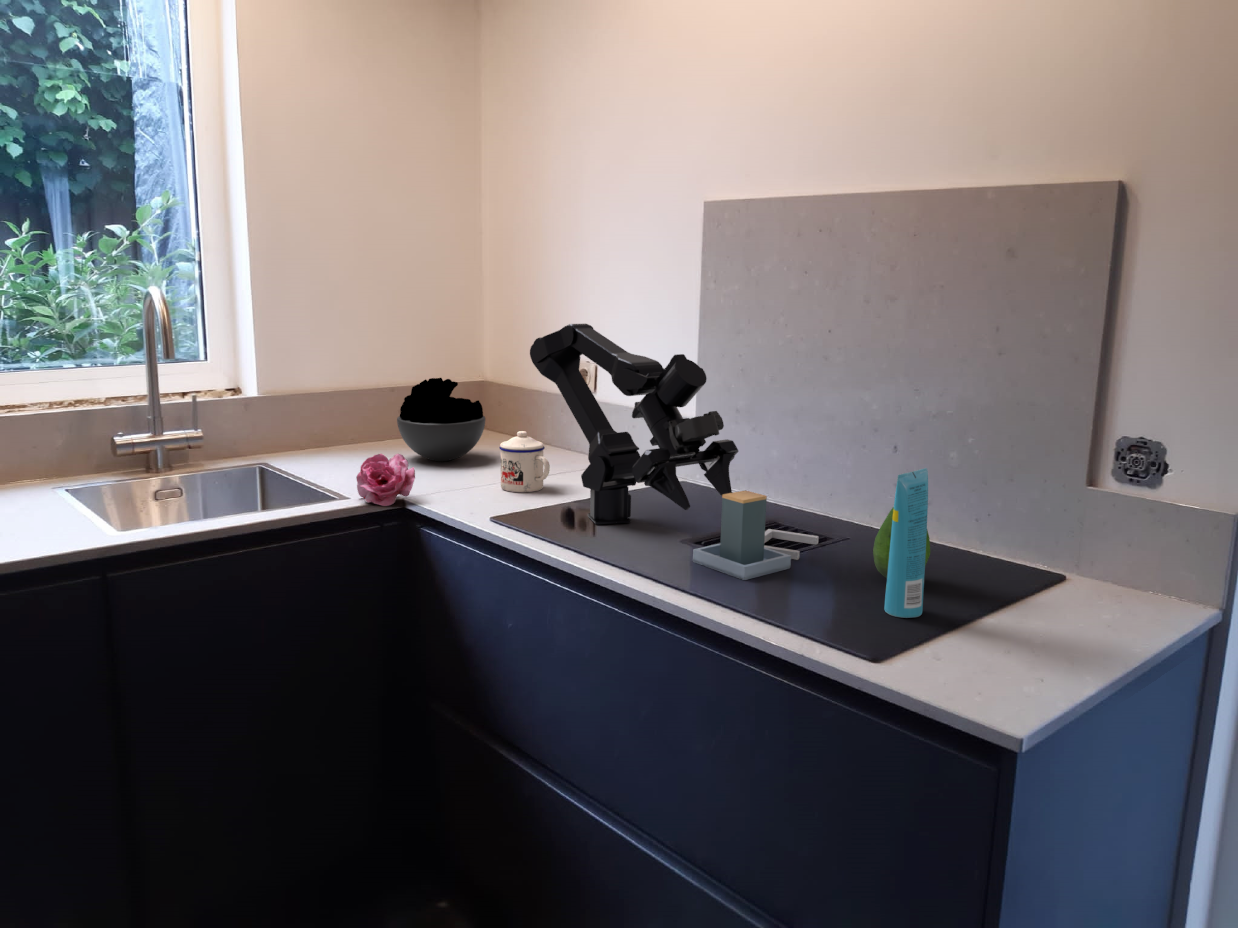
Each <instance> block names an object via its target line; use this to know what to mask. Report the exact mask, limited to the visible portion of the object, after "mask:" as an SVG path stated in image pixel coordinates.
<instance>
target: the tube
mask: <svg viewBox="0 0 1238 928" xmlns="http://www.w3.org/2000/svg"><path fill="white" fill-rule="evenodd" d="M928 473H929V470H928V468H927V467H924V468H921V469H916V470H913V471H910V472H909V471H908V472H904V473H901V474H897V480H896V487H895V492H894V493H895V494H894V502H893V503H894V504H893V507H894V509H893V519H892V530H891V541H890V552H889V563H888V573H887V578H886V586H885V596H884V608H883V610H884V611H885V613H887V614H888V615H889V616H892V617H896V618H902V619H903V618H905V619H908V618H910V619H911V618H919V617H920V616H921V615H922V614H923V606H924V590H925V589H924V588H925V572H926V571H925V570H926V566H925V555H926V535H927V530H928V527H927V526H928V514H929V513H928V511H929V509H928V508H929V474H928Z"/></svg>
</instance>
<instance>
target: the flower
mask: <svg viewBox="0 0 1238 928" xmlns="http://www.w3.org/2000/svg"><path fill="white" fill-rule="evenodd" d="M415 479H416V470H415V467H414V466H413V467H411V468H409V461H408V460H407V459H406V458H405V456H404V455H403V454H401V453H395V454H394V455H393V457H391V458H390V459H388V457H387V456H385V454H383V453H378V454H374V455H373V456H370V457H367V458H366V459H365V460H364V461H363V462H362V463H361V465H360V470H359V472H358V473H357V476H356V482H357V484H356V489H357V494H358V496H359V497H361V498H363V499H364V501H365V502H367V503H372V504H375V505H379V506H382V507H388V506H391V505H394V503H396V500H397V498H398V495H400V496H402V497H408V496H409V495H410V493H411V492H412V489H413V486H414V482H415ZM364 497H365V498H364Z"/></svg>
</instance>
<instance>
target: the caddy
mask: <svg viewBox="0 0 1238 928" xmlns="http://www.w3.org/2000/svg"><path fill="white" fill-rule="evenodd" d="M767 497H768V496H767V495H765V494H761V493H756V492H754V491H749V490H746V489H745V490H741V491H735V492H732V493H728V494H722V496H721V514H720V515H721V516H720V517H721V520H720V522H721V523H720V542H719V543H720V557H722V558H725V559H728V560H731V561H734V562H737V563H740V564H743V565H747V564H751V563H755V562H759V561H763V559H764V545H765V543H764V539H765V531H766V517H767V516H766V515H767V499H768V498H767Z"/></svg>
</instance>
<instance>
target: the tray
mask: <svg viewBox="0 0 1238 928" xmlns="http://www.w3.org/2000/svg"><path fill="white" fill-rule="evenodd" d="M791 562H792V559H791V555H787V554H784V553H781V552H778V551H775V550H772V549H769V548H765V547H764V559H763V561H759V562H755V563H751V564H747V565H743V564H740V563H737V562H734V561H731V560H728V559H725V558H722V557H720V542H719V543H717V544H716V543H715V544H711V545H707V546H702V547H699V548H694V549H692V563H694V564H697V565H701V566H703V567H706V568H709V569H712V570H715V571H718V572H721V573H723V574H725V575H728V576H731V577H733V578H737V579H739V580H742V581H747V580H750V579H754V578H758V577H762V576H766V575H770V574H773V573H778V572H781V571H784V570H785V571H786V570H789V569H791V564H792V563H791Z"/></svg>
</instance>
